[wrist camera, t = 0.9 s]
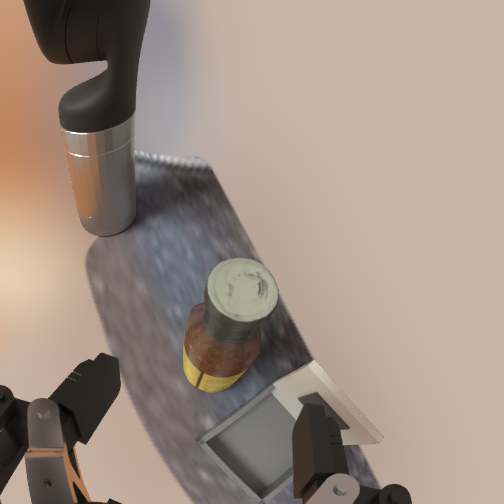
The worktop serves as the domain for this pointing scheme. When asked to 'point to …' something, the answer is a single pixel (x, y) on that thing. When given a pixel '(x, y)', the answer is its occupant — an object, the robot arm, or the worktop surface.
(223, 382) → the sauce bottle
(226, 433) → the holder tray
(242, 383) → the worktop surface
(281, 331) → the worktop surface
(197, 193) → the worktop surface
